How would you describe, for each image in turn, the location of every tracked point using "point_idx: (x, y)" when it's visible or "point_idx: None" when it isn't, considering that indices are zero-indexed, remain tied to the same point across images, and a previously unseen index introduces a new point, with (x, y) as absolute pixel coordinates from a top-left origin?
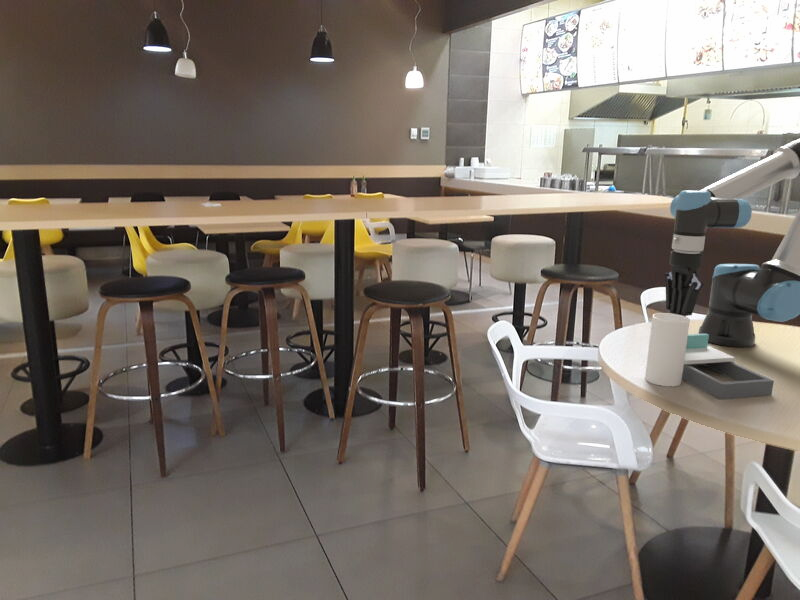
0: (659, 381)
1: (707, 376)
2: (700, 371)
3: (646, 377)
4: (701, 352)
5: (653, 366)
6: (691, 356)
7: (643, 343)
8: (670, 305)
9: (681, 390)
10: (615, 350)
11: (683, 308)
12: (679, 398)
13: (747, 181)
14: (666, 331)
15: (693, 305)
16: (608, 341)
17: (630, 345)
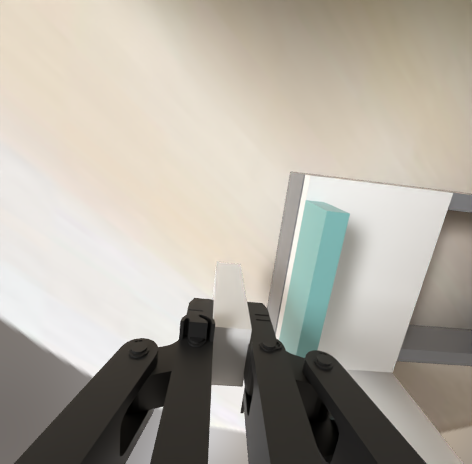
0: None
1: (468, 362)
2: (435, 353)
3: None
4: (358, 269)
5: None
6: (373, 331)
7: (46, 223)
8: (137, 408)
9: (406, 379)
10: (107, 352)
11: (325, 456)
12: (433, 408)
13: None
14: None
15: (394, 443)
16: (13, 321)
17: (64, 281)
